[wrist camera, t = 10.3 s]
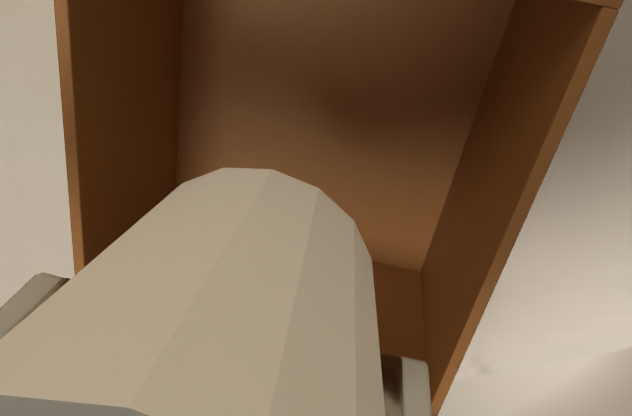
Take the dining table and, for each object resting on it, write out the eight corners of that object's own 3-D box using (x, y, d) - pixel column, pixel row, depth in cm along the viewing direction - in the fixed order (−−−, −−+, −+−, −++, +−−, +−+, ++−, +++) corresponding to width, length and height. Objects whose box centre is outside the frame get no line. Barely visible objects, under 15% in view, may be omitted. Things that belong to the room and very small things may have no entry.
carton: (535, -34, 19) (628, -9, 11) (425, 275, 27) (437, 417, 19) (182, -106, 20) (42, -129, 12) (169, 216, 27) (78, 332, 19)
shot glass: (193, 76, 10) (-95, 286, 4) (462, 249, 11) (538, 614, 5) (86, 290, 14) (-167, 583, 7) (303, 409, 15) (237, 751, 9)
